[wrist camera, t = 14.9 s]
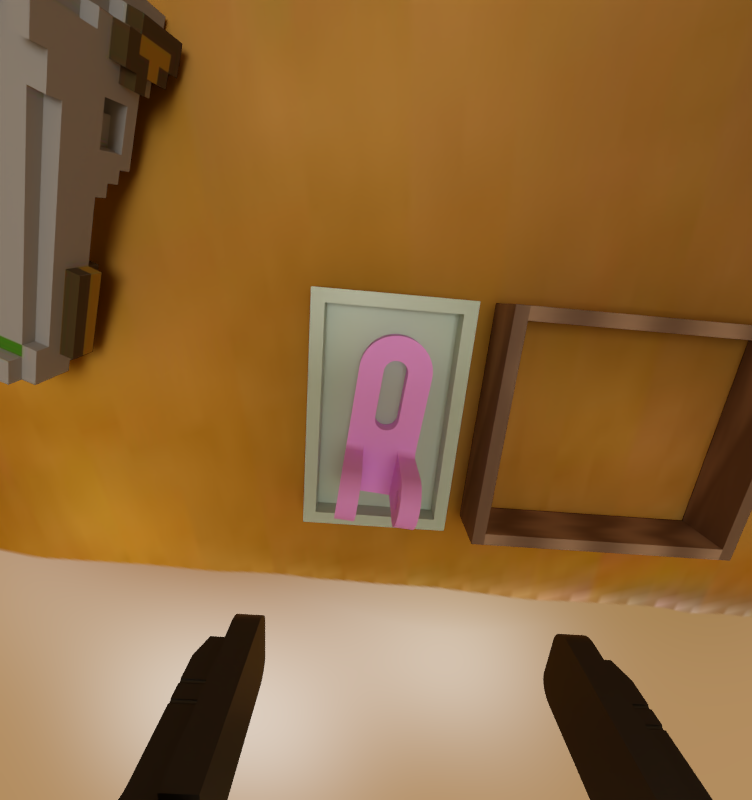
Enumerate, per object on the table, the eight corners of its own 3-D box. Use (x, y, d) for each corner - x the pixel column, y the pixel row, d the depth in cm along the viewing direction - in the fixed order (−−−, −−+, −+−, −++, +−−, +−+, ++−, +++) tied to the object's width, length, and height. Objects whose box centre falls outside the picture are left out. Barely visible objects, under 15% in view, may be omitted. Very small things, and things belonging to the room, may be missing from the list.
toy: (193, 33, 23) (55, -92, 14) (137, 349, 33) (35, 396, 24) (108, -17, 22) (-98, -184, 13) (77, 322, 32) (-51, 360, 23)
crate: (766, 327, 29) (827, 331, 25) (689, 530, 34) (730, 560, 30) (496, 303, 28) (516, 304, 24) (459, 515, 33) (471, 543, 29)
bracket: (403, 488, 31) (412, 541, 24) (340, 479, 31) (332, 529, 24) (436, 340, 28) (458, 354, 21) (365, 328, 27) (364, 338, 21)
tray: (470, 301, 28) (480, 301, 25) (438, 513, 33) (443, 530, 31) (316, 287, 27) (310, 286, 25) (308, 504, 32) (303, 521, 30)
